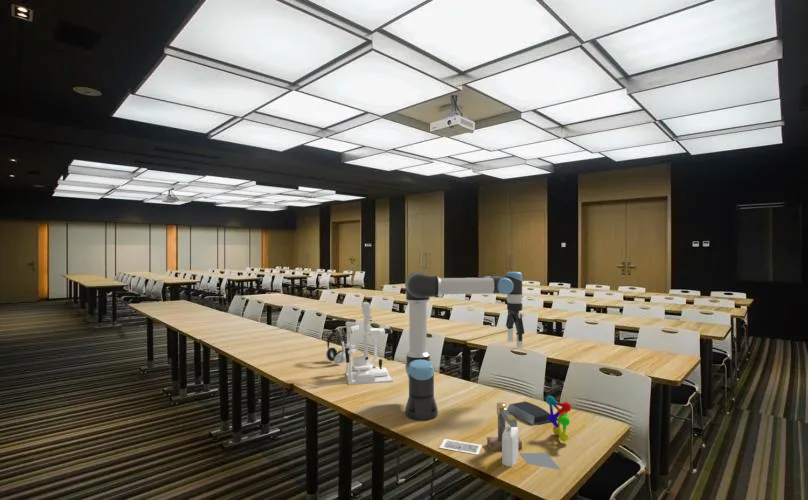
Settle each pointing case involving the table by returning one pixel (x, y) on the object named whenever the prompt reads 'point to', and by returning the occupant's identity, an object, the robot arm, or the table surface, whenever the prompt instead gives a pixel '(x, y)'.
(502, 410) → the lever
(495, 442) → the post stand
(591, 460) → the table surface
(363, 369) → the white slit lamp
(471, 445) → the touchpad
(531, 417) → the external hard drive
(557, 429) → the molecular model
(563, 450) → the table surface
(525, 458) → the mat
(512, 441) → the white upright block
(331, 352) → the headphones
